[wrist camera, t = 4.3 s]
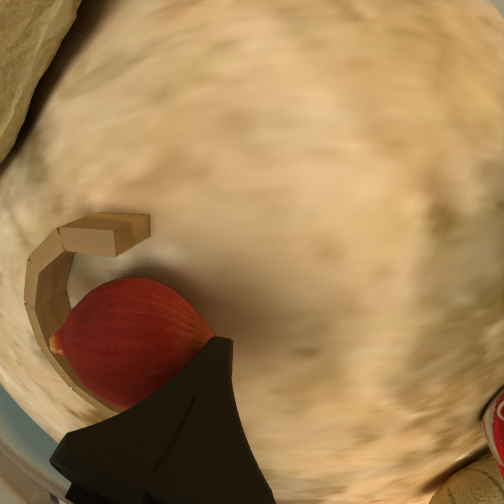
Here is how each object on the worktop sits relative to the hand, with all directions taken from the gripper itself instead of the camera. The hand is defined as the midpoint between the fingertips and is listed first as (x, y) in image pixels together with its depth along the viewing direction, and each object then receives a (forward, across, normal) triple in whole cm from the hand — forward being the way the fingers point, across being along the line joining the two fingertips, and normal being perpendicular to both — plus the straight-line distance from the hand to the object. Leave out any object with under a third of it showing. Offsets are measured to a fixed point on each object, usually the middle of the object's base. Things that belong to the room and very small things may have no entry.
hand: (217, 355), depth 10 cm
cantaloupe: (+2, -33, +26) cm, 42 cm away
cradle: (+3, +8, +2) cm, 8 cm away
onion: (+1, 0, 0) cm, 1 cm away
